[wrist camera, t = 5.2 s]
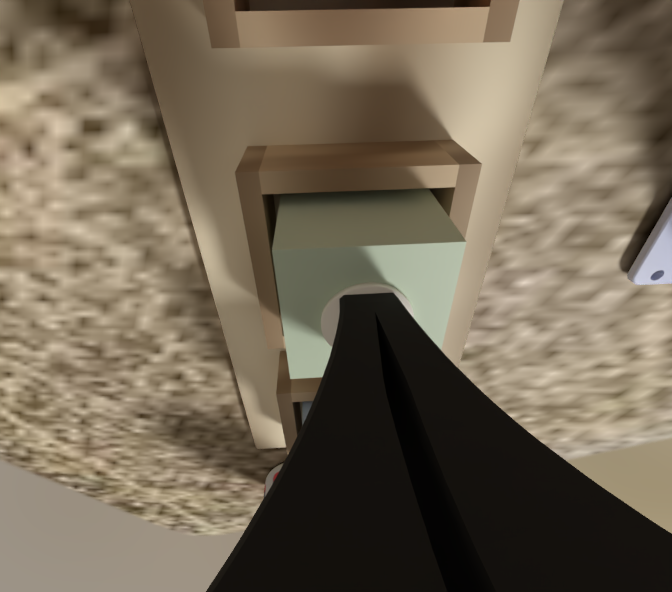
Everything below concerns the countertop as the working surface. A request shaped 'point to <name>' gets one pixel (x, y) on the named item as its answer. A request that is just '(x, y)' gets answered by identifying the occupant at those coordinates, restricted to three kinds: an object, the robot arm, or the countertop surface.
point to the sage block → (360, 263)
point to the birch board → (336, 139)
